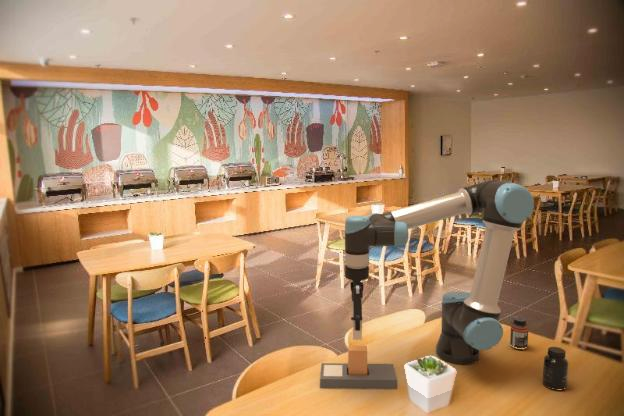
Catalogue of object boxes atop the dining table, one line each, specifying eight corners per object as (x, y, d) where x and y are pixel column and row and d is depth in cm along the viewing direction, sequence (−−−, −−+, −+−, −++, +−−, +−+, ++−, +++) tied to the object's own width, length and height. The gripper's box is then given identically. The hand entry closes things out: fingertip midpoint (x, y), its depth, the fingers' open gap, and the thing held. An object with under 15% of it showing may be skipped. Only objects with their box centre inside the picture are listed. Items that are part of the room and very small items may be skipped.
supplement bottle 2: (570, 392, 136) (572, 356, 135) (546, 390, 138) (548, 354, 136) (562, 380, 143) (564, 345, 141) (539, 378, 144) (541, 344, 143)
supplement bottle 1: (511, 342, 170) (513, 314, 168) (528, 346, 167) (530, 317, 165) (508, 348, 165) (509, 319, 164) (525, 352, 162) (527, 323, 160)
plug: (366, 377, 146) (366, 345, 144) (367, 382, 142) (367, 350, 141) (348, 376, 146) (348, 345, 145) (348, 382, 143) (348, 350, 141)
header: (393, 375, 149) (393, 363, 148) (396, 391, 139) (397, 379, 138) (321, 374, 150) (321, 362, 150) (320, 390, 140) (320, 378, 140)
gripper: (344, 255, 151) (344, 314, 154) (345, 277, 126) (345, 347, 130) (366, 255, 150) (366, 314, 154) (371, 277, 126) (370, 348, 129)
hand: (356, 329), depth 142 cm, fingers open, 13 cm apart
